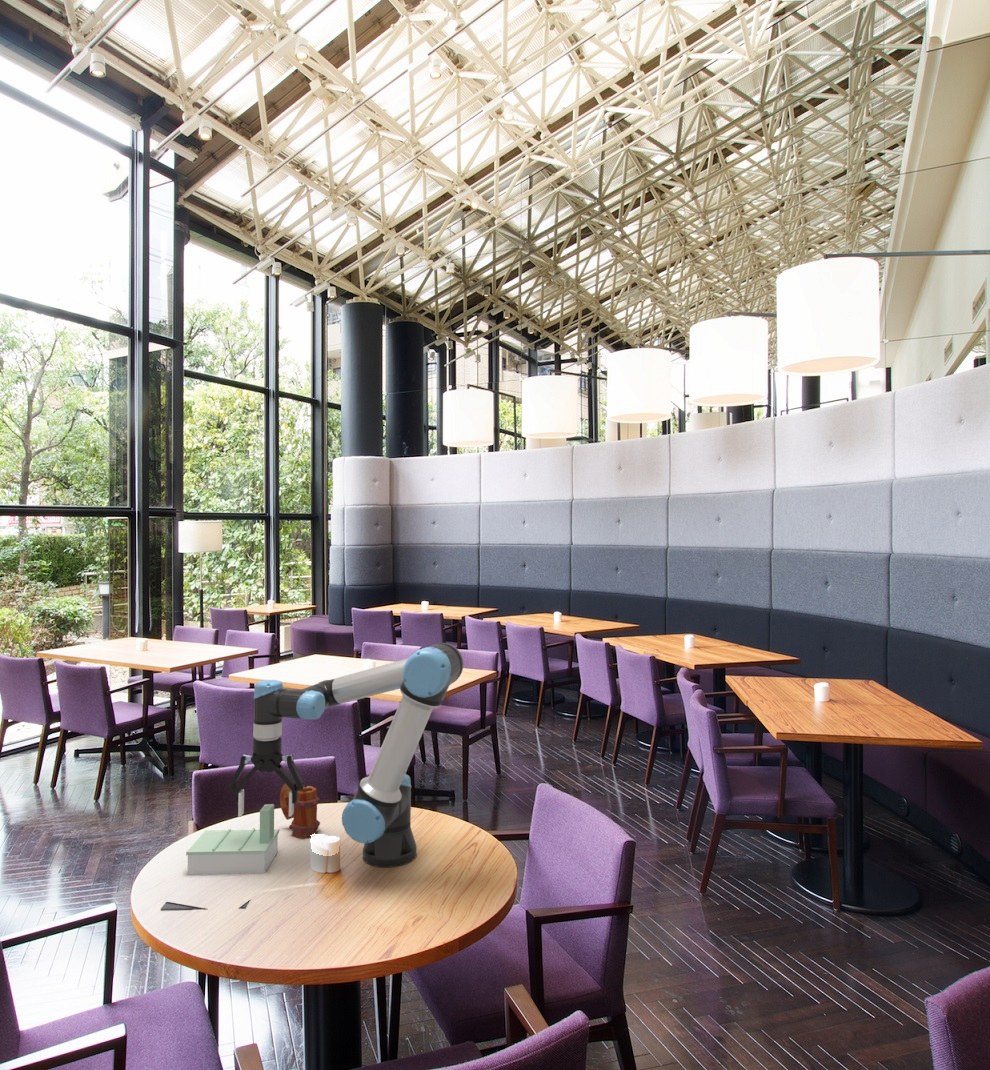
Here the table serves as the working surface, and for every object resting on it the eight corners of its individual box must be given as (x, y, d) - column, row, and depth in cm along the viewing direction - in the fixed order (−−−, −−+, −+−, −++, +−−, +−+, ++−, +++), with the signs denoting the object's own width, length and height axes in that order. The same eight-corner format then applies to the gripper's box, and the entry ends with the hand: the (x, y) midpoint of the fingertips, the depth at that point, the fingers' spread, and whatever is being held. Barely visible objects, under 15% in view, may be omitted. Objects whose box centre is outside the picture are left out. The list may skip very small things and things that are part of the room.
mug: (326, 835, 222) (326, 785, 222) (305, 844, 215) (306, 792, 215) (292, 825, 230) (292, 777, 230) (271, 833, 223) (272, 784, 223)
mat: (261, 880, 192) (261, 878, 192) (245, 908, 177) (245, 906, 177) (184, 881, 191) (184, 880, 191) (160, 910, 176) (160, 908, 176)
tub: (277, 853, 208) (277, 832, 208) (264, 875, 194) (264, 853, 194) (205, 855, 207) (206, 833, 207) (187, 877, 193) (187, 854, 193)
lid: (279, 832, 208) (279, 798, 209) (265, 853, 194) (265, 817, 194) (205, 833, 207) (205, 799, 208) (186, 855, 193) (186, 818, 193)
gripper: (315, 733, 206) (314, 809, 206) (225, 733, 205) (224, 810, 204) (310, 741, 198) (309, 819, 198) (216, 741, 197) (215, 820, 197)
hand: (266, 815), depth 201 cm, fingers open, 13 cm apart
